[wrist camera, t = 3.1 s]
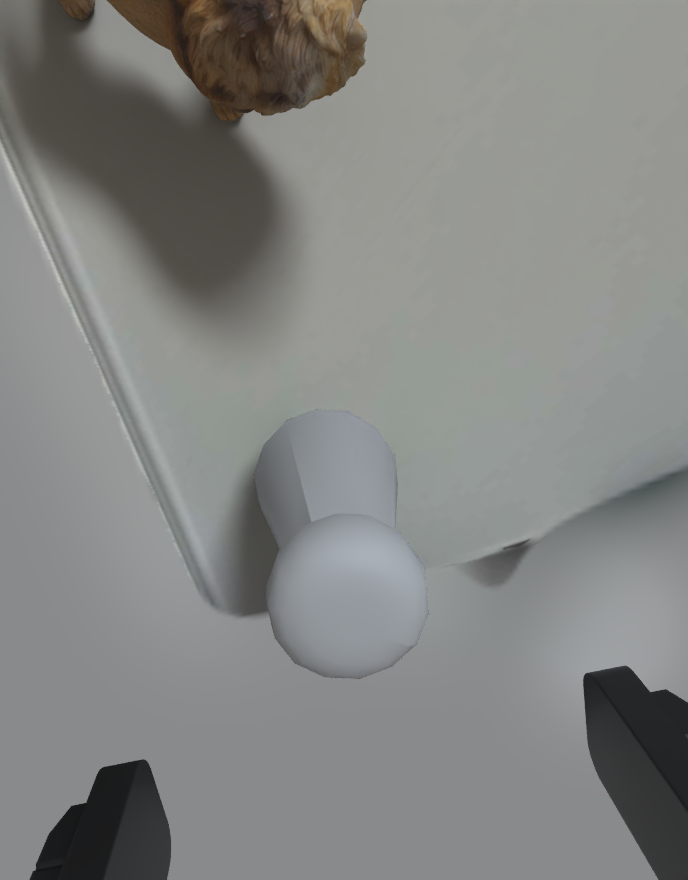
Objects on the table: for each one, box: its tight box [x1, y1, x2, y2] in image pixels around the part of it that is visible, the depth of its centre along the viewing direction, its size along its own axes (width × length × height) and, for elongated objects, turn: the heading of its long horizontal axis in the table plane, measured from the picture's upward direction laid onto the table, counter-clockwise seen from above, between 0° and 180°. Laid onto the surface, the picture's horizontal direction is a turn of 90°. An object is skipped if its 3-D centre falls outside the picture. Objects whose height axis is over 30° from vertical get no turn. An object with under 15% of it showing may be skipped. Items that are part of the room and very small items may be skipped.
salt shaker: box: [254, 409, 428, 679], centre depth 22 cm, size 6×6×13 cm
